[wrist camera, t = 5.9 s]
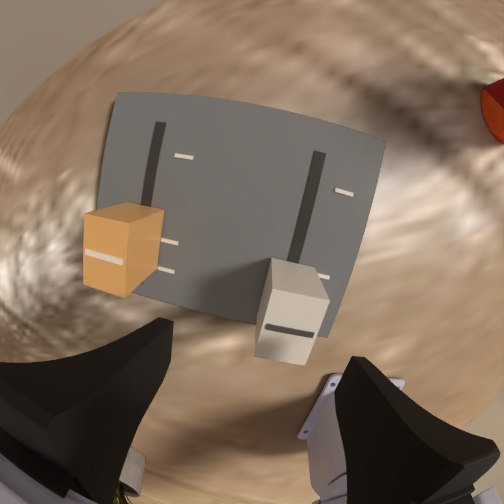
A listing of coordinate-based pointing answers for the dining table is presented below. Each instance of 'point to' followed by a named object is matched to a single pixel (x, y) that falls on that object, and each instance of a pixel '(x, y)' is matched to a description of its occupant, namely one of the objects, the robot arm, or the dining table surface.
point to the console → (239, 196)
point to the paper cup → (494, 108)
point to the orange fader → (121, 247)
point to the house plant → (130, 477)
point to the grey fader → (289, 312)
